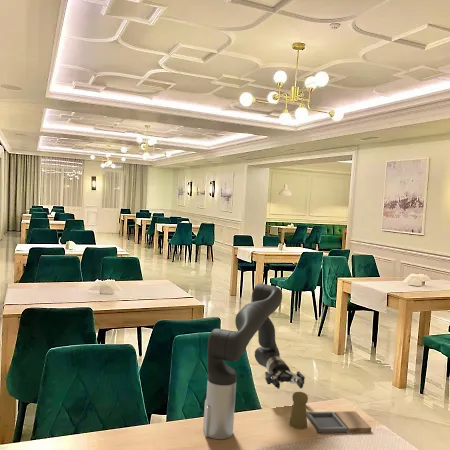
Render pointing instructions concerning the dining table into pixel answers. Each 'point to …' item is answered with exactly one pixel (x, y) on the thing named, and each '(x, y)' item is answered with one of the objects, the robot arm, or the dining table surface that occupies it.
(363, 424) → the light brown wooden board
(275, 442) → the dining table surface
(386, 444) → the dining table surface
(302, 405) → the cork
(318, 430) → the shallow grey tray
